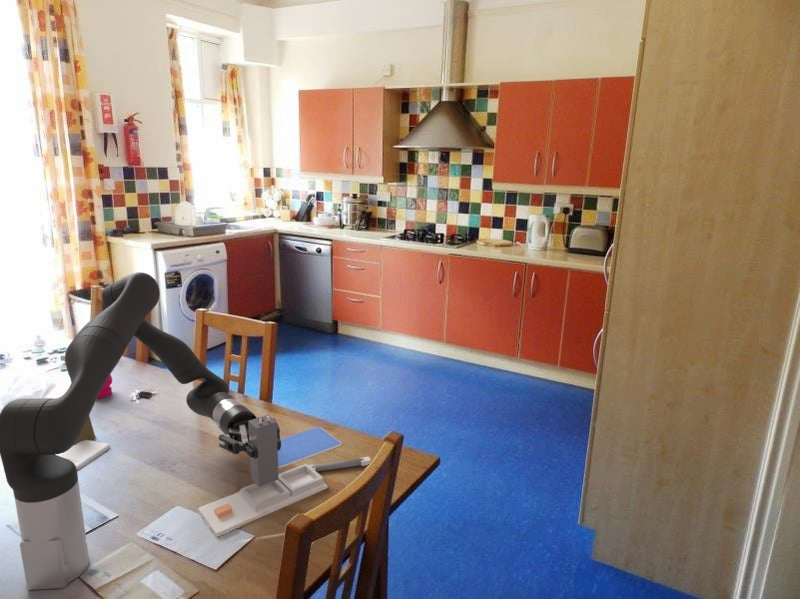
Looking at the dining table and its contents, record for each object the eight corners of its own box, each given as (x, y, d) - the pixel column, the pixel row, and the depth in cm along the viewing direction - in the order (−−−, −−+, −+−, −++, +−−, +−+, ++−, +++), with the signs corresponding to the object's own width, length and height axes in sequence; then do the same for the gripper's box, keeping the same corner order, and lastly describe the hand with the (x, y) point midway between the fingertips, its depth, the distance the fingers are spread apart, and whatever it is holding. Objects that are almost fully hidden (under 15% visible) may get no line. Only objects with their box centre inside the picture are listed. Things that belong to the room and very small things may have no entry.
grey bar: (369, 461, 131) (369, 455, 131) (370, 465, 129) (370, 459, 129) (304, 471, 127) (304, 465, 126) (305, 475, 125) (305, 469, 125)
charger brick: (278, 479, 115) (276, 416, 111) (258, 487, 112) (256, 423, 108) (269, 471, 118) (267, 409, 114) (250, 478, 115) (248, 415, 111)
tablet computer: (277, 472, 127) (277, 467, 127) (255, 450, 136) (254, 446, 136) (343, 448, 139) (343, 443, 139) (319, 429, 148) (319, 425, 148)
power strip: (305, 469, 128) (304, 460, 127) (327, 489, 120) (327, 479, 120) (198, 511, 111) (197, 501, 110) (216, 537, 104) (216, 526, 103)
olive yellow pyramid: (63, 441, 136) (58, 403, 133) (86, 431, 141) (81, 394, 139) (78, 448, 134) (72, 408, 131) (100, 437, 139) (96, 399, 136)
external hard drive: (110, 449, 134) (70, 476, 123) (83, 444, 136) (42, 470, 124) (109, 443, 134) (70, 470, 122) (82, 439, 136) (41, 464, 124)
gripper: (203, 413, 118) (235, 445, 106) (261, 397, 127) (297, 424, 115) (205, 443, 120) (236, 478, 108) (262, 424, 129) (297, 455, 117)
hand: (267, 450), depth 111 cm, fingers closed on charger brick, 4 cm apart
